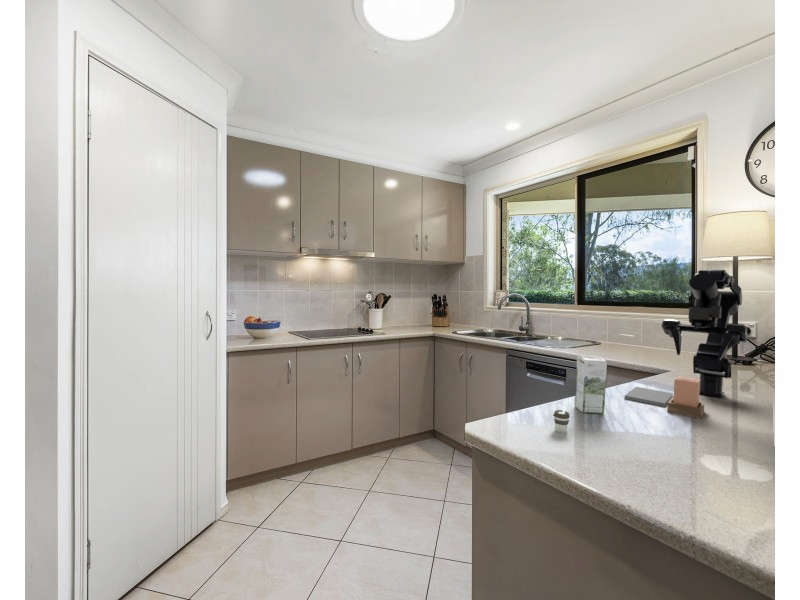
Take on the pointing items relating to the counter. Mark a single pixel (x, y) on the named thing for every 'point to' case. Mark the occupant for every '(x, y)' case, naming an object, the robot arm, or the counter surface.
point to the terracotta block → (686, 391)
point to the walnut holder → (685, 409)
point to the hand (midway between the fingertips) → (698, 357)
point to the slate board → (649, 396)
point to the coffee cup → (561, 420)
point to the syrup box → (590, 384)
